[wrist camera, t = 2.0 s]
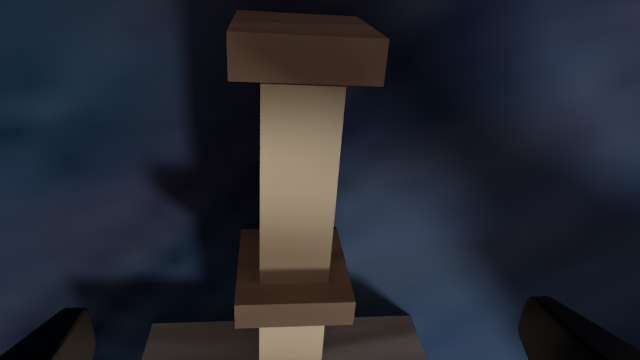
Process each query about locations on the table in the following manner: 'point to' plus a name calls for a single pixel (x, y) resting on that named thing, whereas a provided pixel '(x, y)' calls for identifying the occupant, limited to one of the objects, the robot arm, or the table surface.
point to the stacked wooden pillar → (296, 203)
